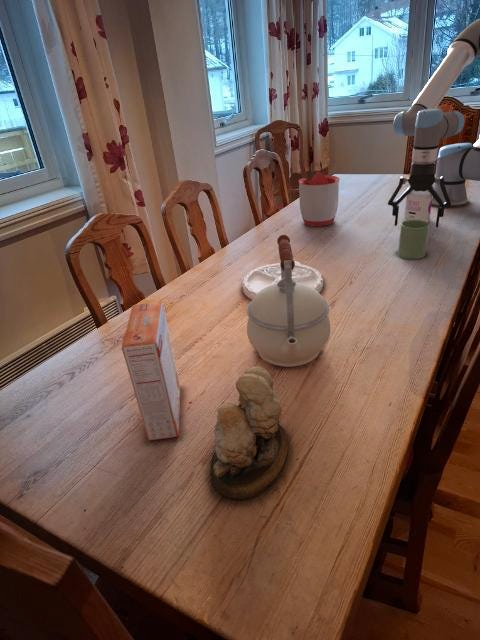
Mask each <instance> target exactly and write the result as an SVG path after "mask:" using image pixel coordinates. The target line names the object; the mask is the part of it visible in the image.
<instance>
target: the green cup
mask: <svg viewBox="0 0 480 640" xmlns="http://www.w3.org/2000/svg"><path fill="white" fill-rule="evenodd" d="M429 232H430V222H429V223H428V222H426V221H421V220H408V221H404V220H403V221H402V222H401V223H400V231H399V239H398V248H397V255H398V256H399V257H400V258H403V259H407V260H420V259H423V258H424V257H425V256H426V253H427V247H428V242H429V241H428V240H429Z"/></svg>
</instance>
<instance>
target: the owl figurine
mask: <svg viewBox="0 0 480 640" xmlns="http://www.w3.org/2000/svg"><path fill="white" fill-rule="evenodd" d="M235 389H236V391H237V393H238V394H239V396H238V404H235V403H230V402H228V403H224V404H221V405H220V406H219V408H217V414H216V422H215V425H214V429H213V434H214V436H215V437H214V445H215V447H214V452H213V455H212V457H211V463H210V470H209V471H210V473H209V474H210V481H211V482H212V484H213V486H214V487H213V488H214V489H215V491H216V492H217V493H218V494H219V495H221V496H223V497H225V498H226V499H230V500H232V501H248V500H252V499H255V498H256V497H258V496H260V495H261V494H263V493H264V492H266V491H267V490H268V489H269V488H270V487H271V486H272V485H273V484H274V483H275V481H277V480H278V478H279V476H281V473H282V471H283V470H284V467H285V464H286V462H287V459H288V454H289V438H288V435H287V432H286V430H285V428H284V427H283V426H282V425H281V420H280V419H281V417H282V407H281V401H280V399H279V396H278V392H277V390H276V389H275V388H274V380H273V378H272V376H271V374H270V373H269V372H268V371H267V370H266V369H265V368H264V367H262V366H259V365H258V366H257V365H253V366H250V367H248V368H246V369H245V370H244V371H243V373H242V374H241V375H240V376H238V379H237V380H236V382H235Z"/></svg>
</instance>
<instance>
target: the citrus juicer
mask: <svg viewBox="0 0 480 640" xmlns="http://www.w3.org/2000/svg"><path fill="white" fill-rule="evenodd" d="M298 184H299V185H298V187H299V188H298V192H299V194H298V195H299V196H298V197H299V210H300V214H301V218H302V221H303V222H304V224H305V225H307V226H310V227H314V228H315V227H322V226H329V225H332V224H333V223H334V221H335V219H336V215H337V212H338V207H339V192H340V191H339V190H340V189H339V188H340V177H338V176H336V175H329V174H324V173H323V172H321V171H317V172H316V173H315V174H314V175H313V176H312V178H311V180H310V181H308V179H307V178H305V177H302V178H300V179H298Z"/></svg>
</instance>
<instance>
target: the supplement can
mask: <svg viewBox="0 0 480 640" xmlns="http://www.w3.org/2000/svg"><path fill="white" fill-rule="evenodd" d="M405 198H406V199H405V208H404V218H403V222H404V221H408V220H421V221H426V222H428V223H429V224H430V220H431V219H430V218H431V212H432V206H433V205H432V195H431V193H430V192H429V191H411V192H410V193H409V194H408V195H407V196H406V197H405Z"/></svg>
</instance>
